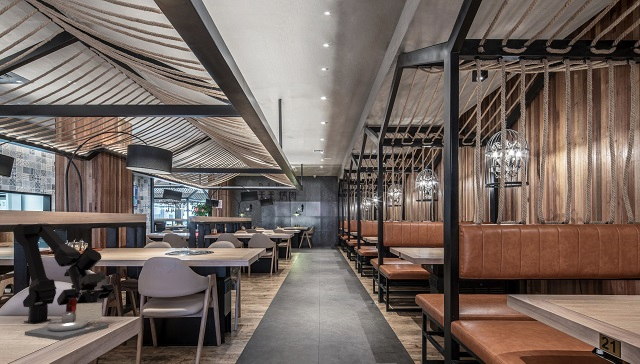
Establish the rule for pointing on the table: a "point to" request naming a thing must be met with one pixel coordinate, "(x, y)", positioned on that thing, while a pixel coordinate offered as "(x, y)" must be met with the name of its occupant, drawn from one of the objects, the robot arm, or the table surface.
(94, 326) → the panel
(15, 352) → the table surface
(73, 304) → the canned food
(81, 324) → the dial
